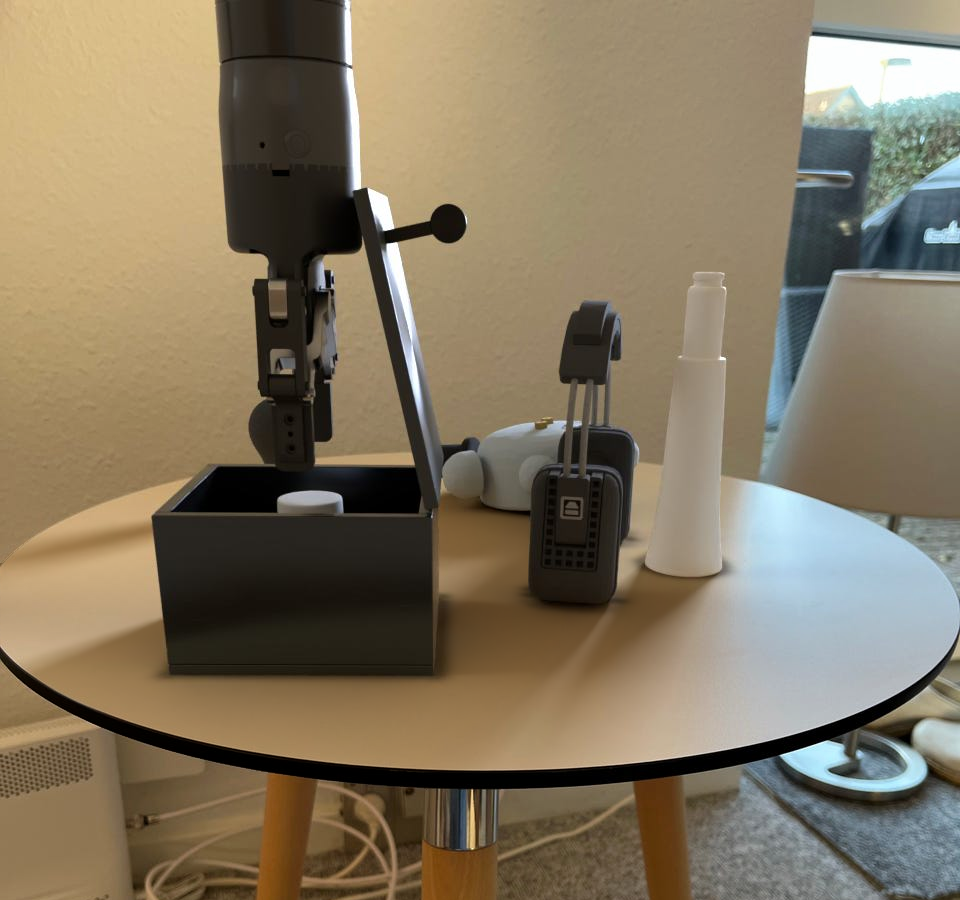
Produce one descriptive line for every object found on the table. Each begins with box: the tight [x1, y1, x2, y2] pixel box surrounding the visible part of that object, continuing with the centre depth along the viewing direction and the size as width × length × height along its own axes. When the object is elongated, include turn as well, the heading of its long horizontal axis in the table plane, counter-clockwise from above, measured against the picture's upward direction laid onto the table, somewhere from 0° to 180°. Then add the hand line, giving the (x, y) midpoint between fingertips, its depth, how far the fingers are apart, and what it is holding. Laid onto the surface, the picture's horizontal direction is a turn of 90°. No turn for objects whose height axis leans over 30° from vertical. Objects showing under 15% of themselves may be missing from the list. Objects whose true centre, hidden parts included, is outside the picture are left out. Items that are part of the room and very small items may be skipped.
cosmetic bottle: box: [644, 271, 728, 578], centre depth 77 cm, size 6×6×22 cm
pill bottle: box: [277, 491, 344, 513], centre depth 65 cm, size 5×5×8 cm
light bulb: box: [247, 398, 275, 464], centre depth 97 cm, size 6×6×10 cm
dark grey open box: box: [150, 463, 440, 677], centre depth 65 cm, size 16×14×10 cm
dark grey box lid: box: [352, 186, 468, 510], centre depth 59 cm, size 17×14×5 cm
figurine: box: [441, 416, 640, 512], centre depth 99 cm, size 17×8×20 cm
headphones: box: [527, 300, 635, 605], centre depth 77 cm, size 22×6×20 cm, turn 169°
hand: (306, 454), depth 62 cm, fingers open, 8 cm apart
